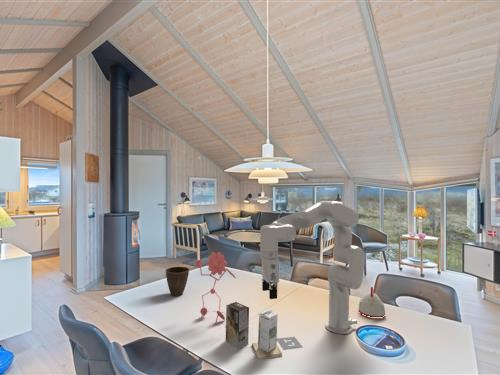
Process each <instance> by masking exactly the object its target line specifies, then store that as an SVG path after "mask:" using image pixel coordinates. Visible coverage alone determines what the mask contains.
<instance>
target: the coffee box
mask: <svg viewBox="0 0 500 375" xmlns="http://www.w3.org/2000/svg"><path fill="white" fill-rule="evenodd" d="M225 306H226V307H225V308H226V309H225V310H226V311H225V313H226V314H225V326H226V327H225V342H226V343H228V344H229V345H231V346H233V347H234V348H236V349H237V350H239V349H242V348H244V347H245V346H247V345H249V332H250V330H249V327H250V326H249V324H250V323H249V322H250V307H248V306H246V305H244V304H241V303H239V302H237V301H235V302H231V303H229V304H226V305H225Z"/></svg>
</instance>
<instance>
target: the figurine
mask: <svg viewBox="0 0 500 375" xmlns="http://www.w3.org/2000/svg"><path fill="white" fill-rule="evenodd" d="M225 257H226V256H225V255H224V254H222V252H221V251H219V252H217V253H215V251H211V254H209V255H208V260H206V261H205V264H206V266H207V267H208V271H210V274H203V272H202V267H203V260H201V259H199V260H196V261H195V263H194V264H195V267H196V268H200V276H209V277H210V278H211V277H212V279H214V284H213V287H212V288H211V289H210V291H208V292H207V293H205V294H202V296H201V298H202V306H203V307H202V308H201V309H200V311H199V312H200V314H201V317H200V321H202V319H203V317H205V316H206V315H207V313H208V312H209V310H208V308H206V307H205V305H204V304H205V302H204V296H205V295H208V294H209V293H210V294H213V295H214V294H216V297H218V299H219V301H222V300H221V297H220V296H219V295H218V293H217V292H216V289H215V286H216V283H217V282H219V281H220V280H221V278H222V277H223V275H224V274H226V272H228V274H230V275H231V276H232V277H233V278H234V279H237V278H236V276H235V275H234V273H232V271H230V270H229V269H228V268H226V266H227V265H228V262H227V261H226V260H225ZM216 274H218V275H219V278H216V277H215V275H216ZM218 306H219V307H218V310H217V311H216V310H214V312H216V314H217V316H216V319H215V323H214V325H217V324H218V319H219V318H220V319H222V320H223V321H226V316H224V314H225V315H226V312H223V311H220V308H221V303H219V305H218ZM224 328H226V325H225V326H224Z"/></svg>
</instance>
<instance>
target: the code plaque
mask: <svg viewBox="0 0 500 375" xmlns="http://www.w3.org/2000/svg"><path fill="white" fill-rule="evenodd" d="M276 342H278V343H279V345H280V346H281V347H282V349H283V350H289V349H290V350H291V349H299V348H303V347H304V346H303V345H302V344H301V342H300V341H299V340H298V339H297V338H296V337H295V336H289V337H279V338H277V341H276Z"/></svg>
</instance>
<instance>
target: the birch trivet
mask: <svg viewBox="0 0 500 375" xmlns="http://www.w3.org/2000/svg"><path fill="white" fill-rule="evenodd" d="M251 347H252V348H253V350H254V352H255V355H256V356H257V357H256V358H257V359H258V360H262V359H268V358H269V359H271V358H277V357H283V352H282V351H281V349H280V347H279V346H278V345H277V344H276V348H274V349H273V350H272V351H270V352H266V351H264V350H262V349H260V348H258V341H257V342H252V343H251Z"/></svg>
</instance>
